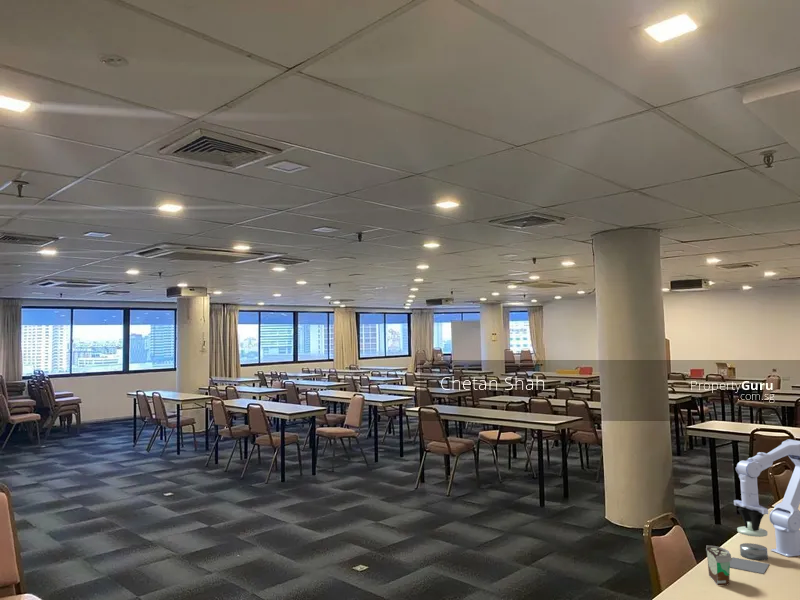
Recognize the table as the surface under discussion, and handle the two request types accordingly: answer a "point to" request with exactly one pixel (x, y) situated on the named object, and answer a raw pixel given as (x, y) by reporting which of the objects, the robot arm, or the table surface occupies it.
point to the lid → (751, 530)
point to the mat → (748, 565)
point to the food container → (718, 564)
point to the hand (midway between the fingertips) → (752, 528)
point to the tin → (753, 551)
